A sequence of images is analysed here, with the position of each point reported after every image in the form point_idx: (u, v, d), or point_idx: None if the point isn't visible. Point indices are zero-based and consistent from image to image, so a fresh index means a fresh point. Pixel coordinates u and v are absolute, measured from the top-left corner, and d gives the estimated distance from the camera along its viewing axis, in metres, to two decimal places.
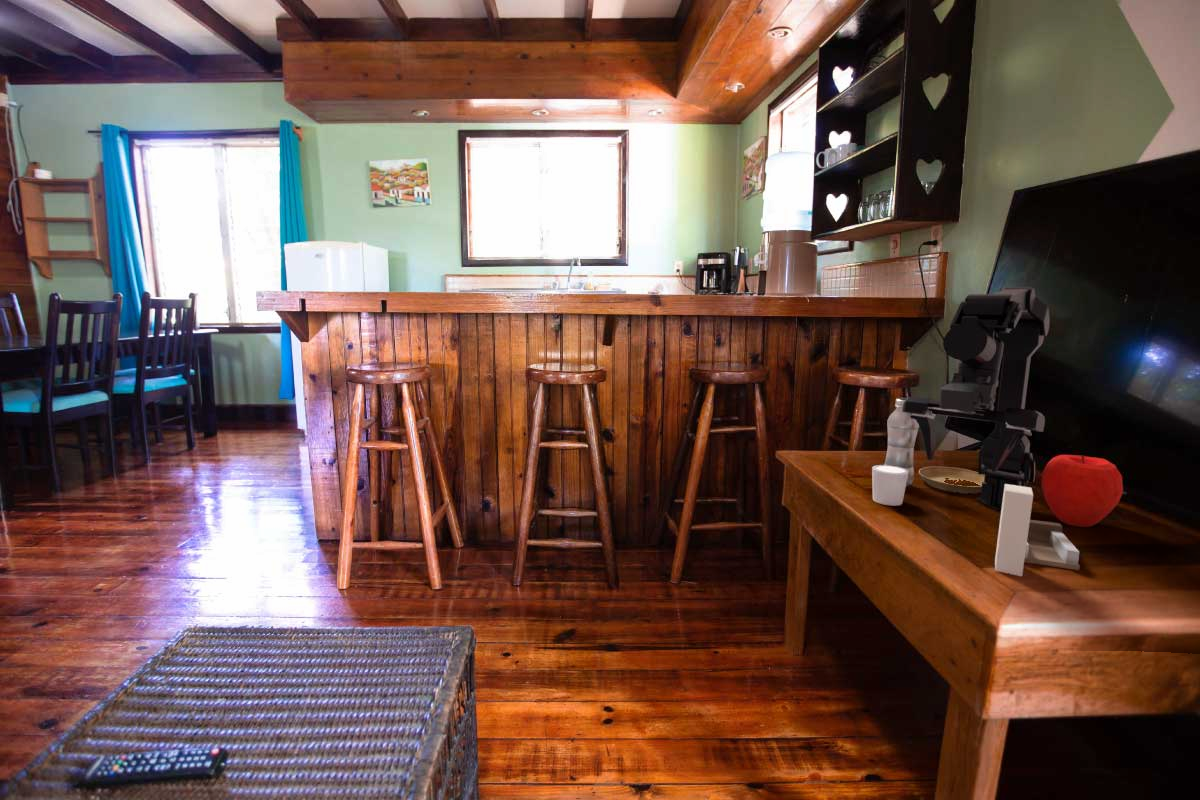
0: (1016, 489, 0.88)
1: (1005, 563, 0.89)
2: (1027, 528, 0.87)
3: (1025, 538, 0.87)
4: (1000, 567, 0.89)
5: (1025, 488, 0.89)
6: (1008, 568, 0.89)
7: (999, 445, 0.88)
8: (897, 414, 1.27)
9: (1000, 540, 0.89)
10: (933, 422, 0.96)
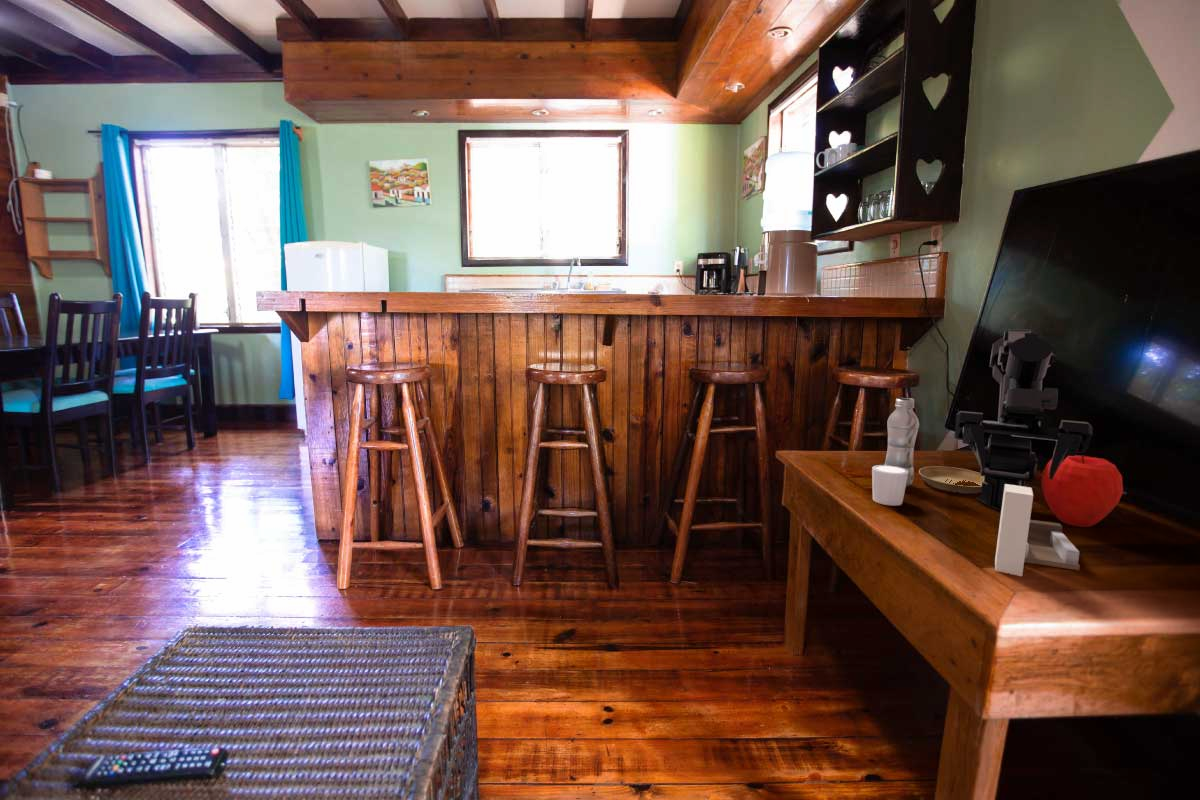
0: (1016, 489, 0.88)
1: (1005, 563, 0.89)
2: (1027, 528, 0.87)
3: (1025, 538, 0.87)
4: (1000, 567, 0.89)
5: (1025, 488, 0.89)
6: (1008, 568, 0.89)
7: (1056, 452, 0.93)
8: (897, 414, 1.27)
9: (1000, 540, 0.89)
10: None
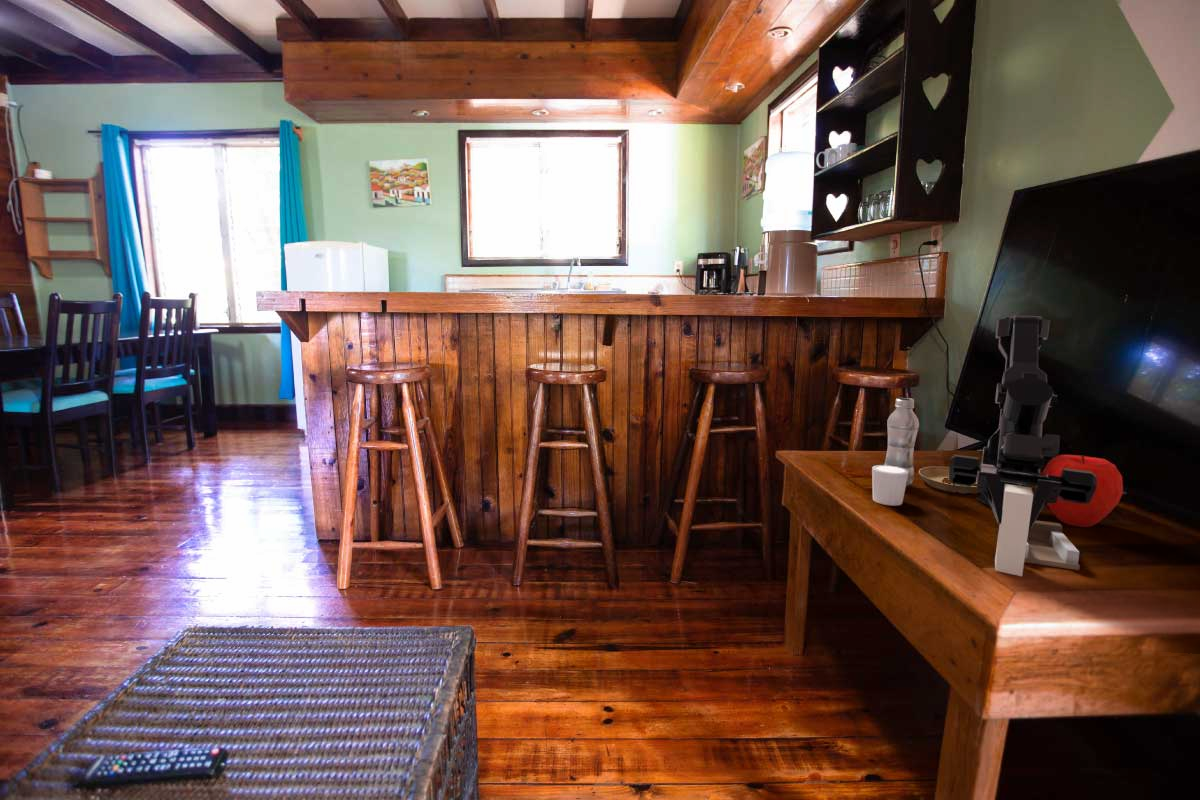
0: (1016, 489, 0.88)
1: (1005, 562, 0.89)
2: (1027, 528, 0.87)
3: (1025, 538, 0.87)
4: (1000, 567, 0.89)
5: (1025, 488, 0.89)
6: (1008, 568, 0.89)
7: (1035, 500, 0.88)
8: (897, 414, 1.27)
9: (1000, 540, 0.89)
10: None
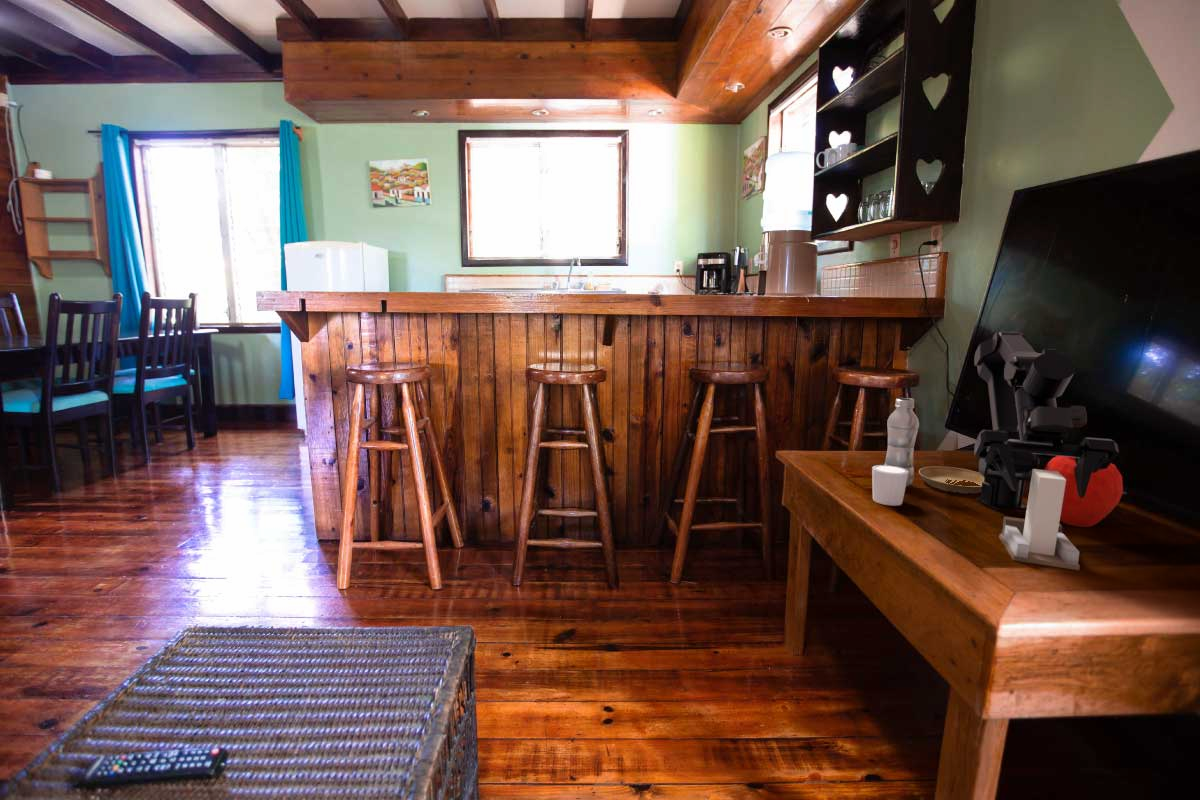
0: (1047, 474, 0.93)
1: (1038, 544, 0.94)
2: (1060, 510, 0.92)
3: (1057, 520, 0.92)
4: (1033, 548, 0.94)
5: (1053, 473, 0.94)
6: (1041, 549, 0.94)
7: (1084, 470, 0.92)
8: (897, 414, 1.27)
9: (1034, 523, 0.93)
10: None
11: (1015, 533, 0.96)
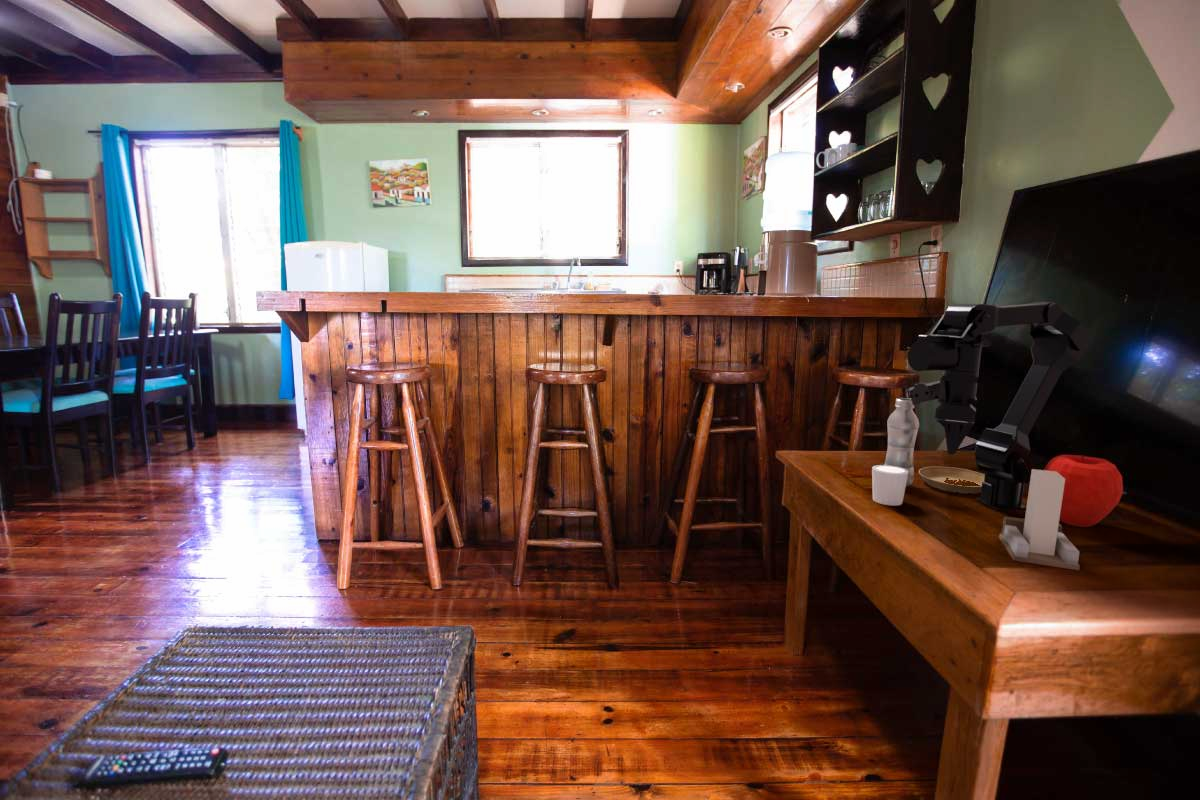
0: (1046, 474, 0.94)
1: (1038, 544, 0.94)
2: (1059, 510, 0.92)
3: (1057, 519, 0.92)
4: (1033, 548, 0.94)
5: (1052, 472, 0.94)
6: (1041, 549, 0.94)
7: None
8: (897, 414, 1.27)
9: (1033, 523, 0.94)
10: None
11: (1015, 533, 0.96)
